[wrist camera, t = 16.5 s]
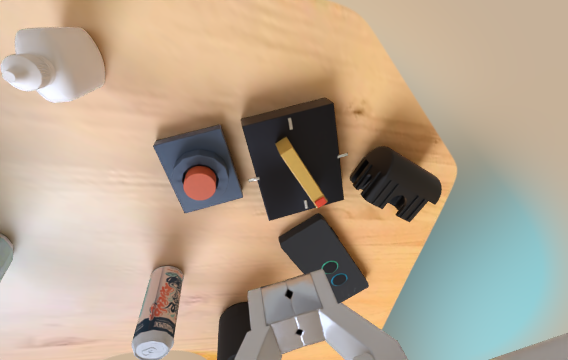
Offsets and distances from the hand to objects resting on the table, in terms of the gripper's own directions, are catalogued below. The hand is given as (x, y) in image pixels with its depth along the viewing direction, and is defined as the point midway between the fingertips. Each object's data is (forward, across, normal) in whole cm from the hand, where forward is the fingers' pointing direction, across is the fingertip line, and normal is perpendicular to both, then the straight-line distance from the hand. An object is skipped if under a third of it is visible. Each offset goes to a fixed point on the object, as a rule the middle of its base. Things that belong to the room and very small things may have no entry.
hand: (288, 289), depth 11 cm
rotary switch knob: (+24, -5, +8) cm, 26 cm away
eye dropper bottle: (+27, +14, -9) cm, 32 cm away
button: (+24, +7, +6) cm, 26 cm away
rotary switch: (+27, -5, +8) cm, 29 cm away
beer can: (+27, +18, +22) cm, 39 cm away
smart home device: (+27, -7, +29) cm, 40 cm away
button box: (+27, +7, +6) cm, 29 cm away
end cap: (+27, -18, +14) cm, 36 cm away
